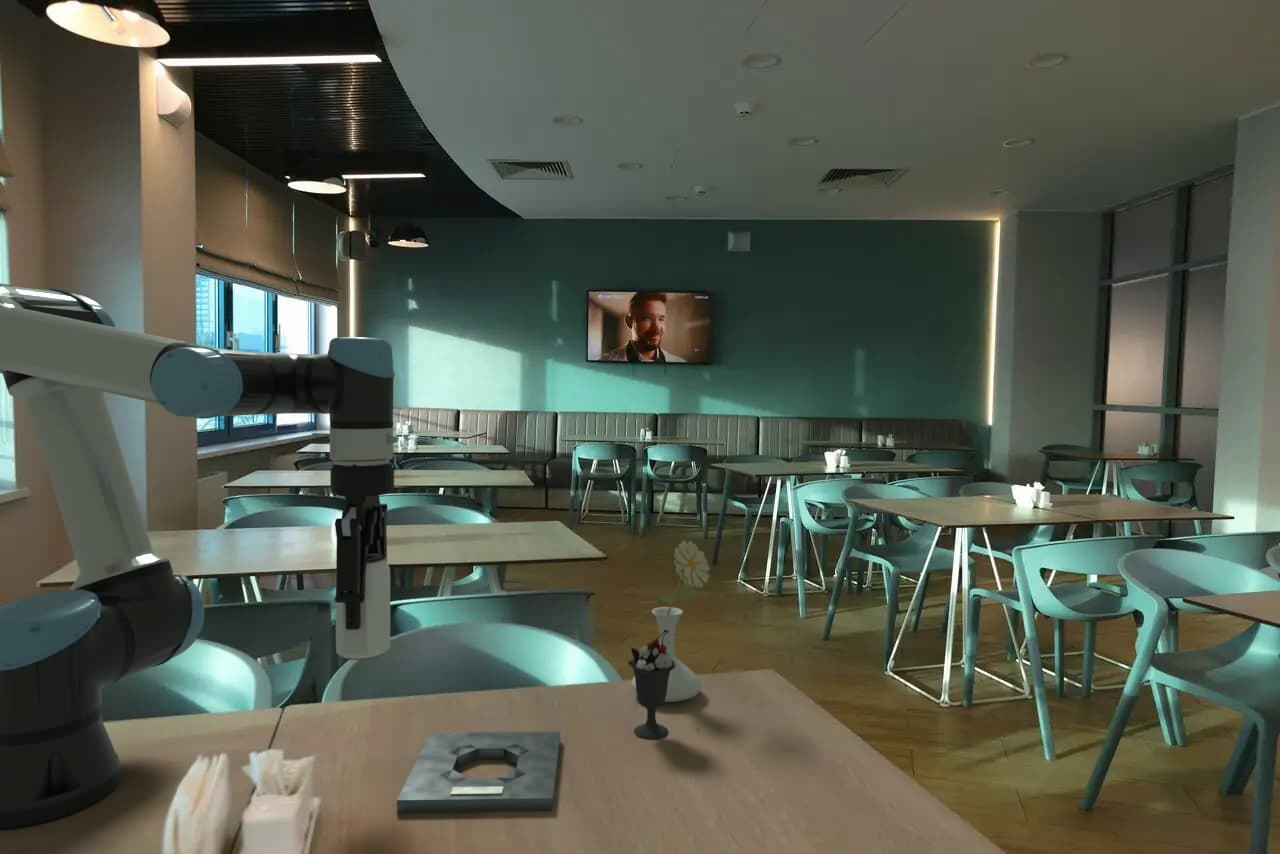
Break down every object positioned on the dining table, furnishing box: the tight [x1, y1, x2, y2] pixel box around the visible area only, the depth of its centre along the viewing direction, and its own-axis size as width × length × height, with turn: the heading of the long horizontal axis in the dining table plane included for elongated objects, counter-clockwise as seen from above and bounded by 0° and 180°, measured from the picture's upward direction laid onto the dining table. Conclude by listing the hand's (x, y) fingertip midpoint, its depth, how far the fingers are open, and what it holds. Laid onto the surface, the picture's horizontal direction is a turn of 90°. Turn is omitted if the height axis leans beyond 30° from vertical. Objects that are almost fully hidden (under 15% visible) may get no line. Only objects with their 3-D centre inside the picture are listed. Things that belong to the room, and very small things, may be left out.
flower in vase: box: [630, 540, 711, 703], centre depth 127 cm, size 13×11×25 cm
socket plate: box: [396, 730, 561, 814], centre depth 101 cm, size 18×18×2 cm
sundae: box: [628, 630, 675, 740], centre depth 114 cm, size 7×7×15 cm
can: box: [335, 553, 391, 661], centre depth 99 cm, size 6×6×12 cm
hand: (363, 644), depth 99 cm, fingers closed on can, 6 cm apart
